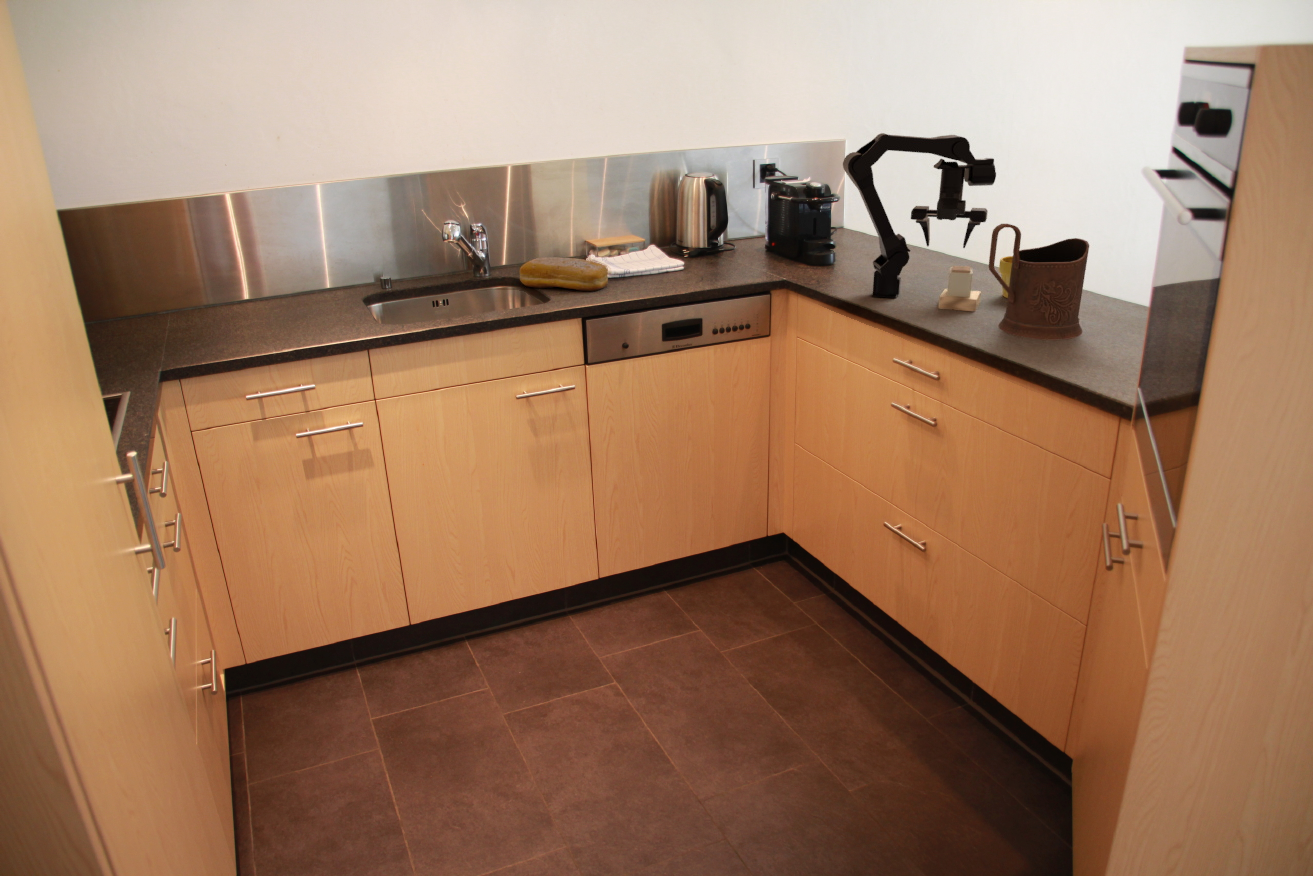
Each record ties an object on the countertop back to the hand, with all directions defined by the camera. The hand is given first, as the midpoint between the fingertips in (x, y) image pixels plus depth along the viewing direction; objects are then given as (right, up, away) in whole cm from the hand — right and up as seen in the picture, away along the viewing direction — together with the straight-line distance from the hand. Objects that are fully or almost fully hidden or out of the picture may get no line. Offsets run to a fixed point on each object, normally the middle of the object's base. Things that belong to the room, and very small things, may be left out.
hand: (945, 247), depth 246 cm
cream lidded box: (+1, -14, -8) cm, 16 cm away
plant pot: (+19, -13, 0) cm, 23 cm away
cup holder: (+11, -25, -28) cm, 39 cm away
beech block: (+1, -17, -7) cm, 18 cm away
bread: (-103, -7, +24) cm, 106 cm away
